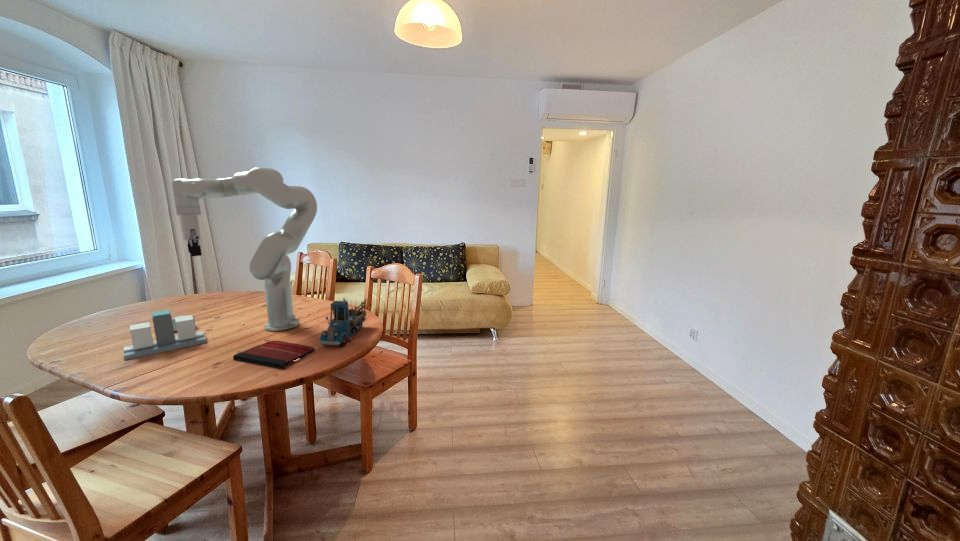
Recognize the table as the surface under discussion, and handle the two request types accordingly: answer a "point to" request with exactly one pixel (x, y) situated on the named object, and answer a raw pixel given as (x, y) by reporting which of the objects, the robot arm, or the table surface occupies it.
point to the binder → (274, 354)
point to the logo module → (163, 327)
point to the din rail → (130, 348)
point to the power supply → (175, 322)
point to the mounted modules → (144, 336)
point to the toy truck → (343, 323)
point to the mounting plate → (163, 347)
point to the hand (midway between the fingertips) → (195, 254)
